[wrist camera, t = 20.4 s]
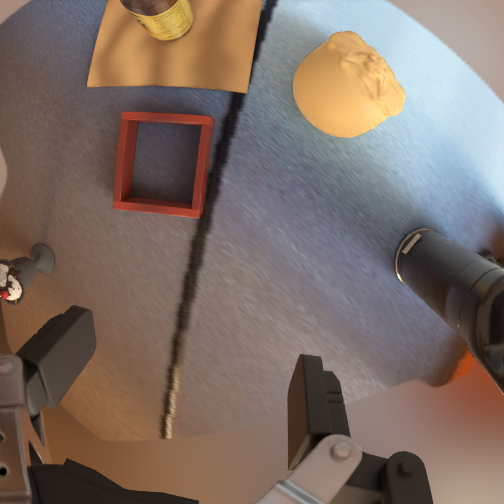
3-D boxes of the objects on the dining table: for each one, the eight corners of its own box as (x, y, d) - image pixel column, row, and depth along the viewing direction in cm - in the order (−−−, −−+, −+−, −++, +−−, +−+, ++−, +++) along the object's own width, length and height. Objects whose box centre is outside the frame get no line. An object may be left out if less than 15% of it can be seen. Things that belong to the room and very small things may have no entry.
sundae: (66, 269, 42) (11, 313, 28) (40, 284, 43) (-13, 327, 29) (46, 231, 40) (-16, 264, 26) (22, 249, 41) (-37, 283, 27)
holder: (214, 120, 37) (211, 116, 33) (203, 212, 41) (198, 218, 37) (132, 114, 36) (121, 111, 32) (124, 203, 40) (112, 208, 36)
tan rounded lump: (390, 103, 36) (431, 93, 26) (329, 155, 39) (358, 157, 28) (336, 39, 34) (363, 9, 23) (270, 88, 36) (279, 66, 26)
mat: (264, -8, 31) (264, -11, 30) (247, 93, 36) (247, 92, 35) (113, -8, 30) (111, -11, 29) (88, 87, 34) (86, 86, 34)
